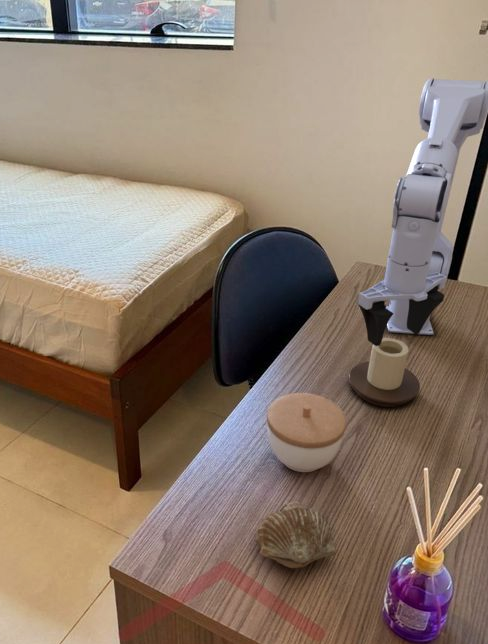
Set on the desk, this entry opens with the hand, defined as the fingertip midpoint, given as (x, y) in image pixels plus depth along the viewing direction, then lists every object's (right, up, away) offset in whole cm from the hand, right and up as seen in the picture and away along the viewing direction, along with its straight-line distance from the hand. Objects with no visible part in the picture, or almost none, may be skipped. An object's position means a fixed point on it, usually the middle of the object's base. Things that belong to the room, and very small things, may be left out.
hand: (393, 336), depth 94 cm
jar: (0, -7, +4) cm, 8 cm away
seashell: (-21, -27, -20) cm, 39 cm away
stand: (0, -9, +5) cm, 10 cm away
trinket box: (-16, -18, -7) cm, 25 cm away
